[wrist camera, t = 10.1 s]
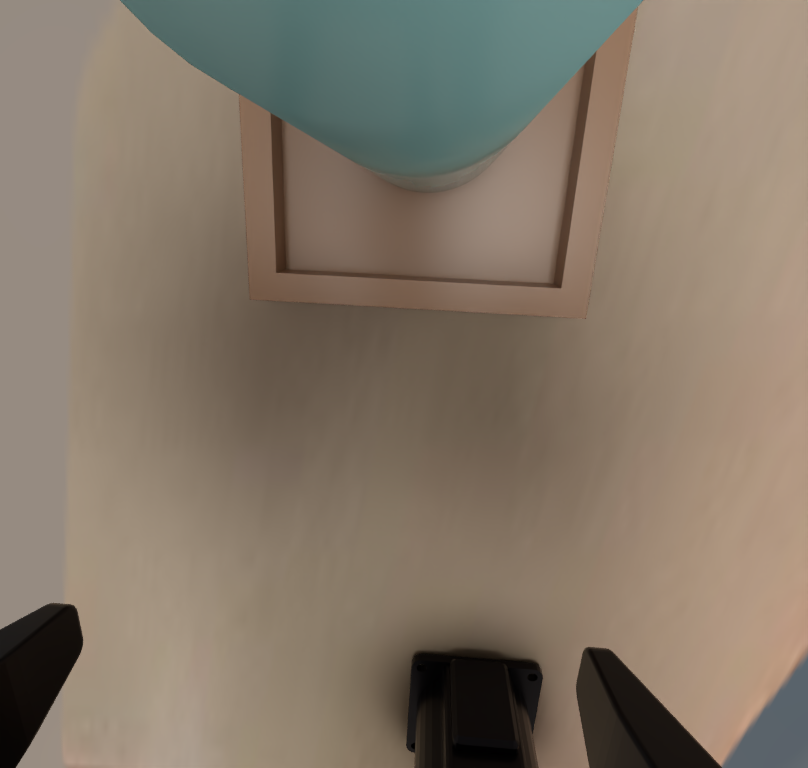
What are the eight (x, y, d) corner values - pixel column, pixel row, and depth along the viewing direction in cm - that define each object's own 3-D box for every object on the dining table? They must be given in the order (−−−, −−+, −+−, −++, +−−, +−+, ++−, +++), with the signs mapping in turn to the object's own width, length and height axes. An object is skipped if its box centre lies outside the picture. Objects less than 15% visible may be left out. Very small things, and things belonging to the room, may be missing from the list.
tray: (571, 308, 20) (586, 318, 18) (267, 291, 20) (249, 299, 18) (643, -157, 15) (673, -210, 13) (248, -166, 15) (222, -218, 14)
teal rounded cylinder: (540, 158, 17) (875, -43, 4) (375, 217, 18) (186, 220, 5) (493, -45, 15) (795, -1651, 2) (314, 33, 16) (-232, -728, 3)
